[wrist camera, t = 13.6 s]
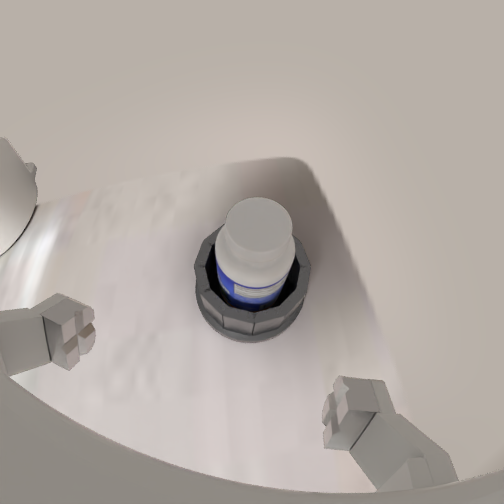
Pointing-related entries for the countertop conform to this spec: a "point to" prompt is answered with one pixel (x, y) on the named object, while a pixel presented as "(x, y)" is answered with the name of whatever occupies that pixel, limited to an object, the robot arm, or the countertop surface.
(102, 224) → the countertop surface
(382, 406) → the robot arm
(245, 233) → the pill bottle
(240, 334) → the cup holder
